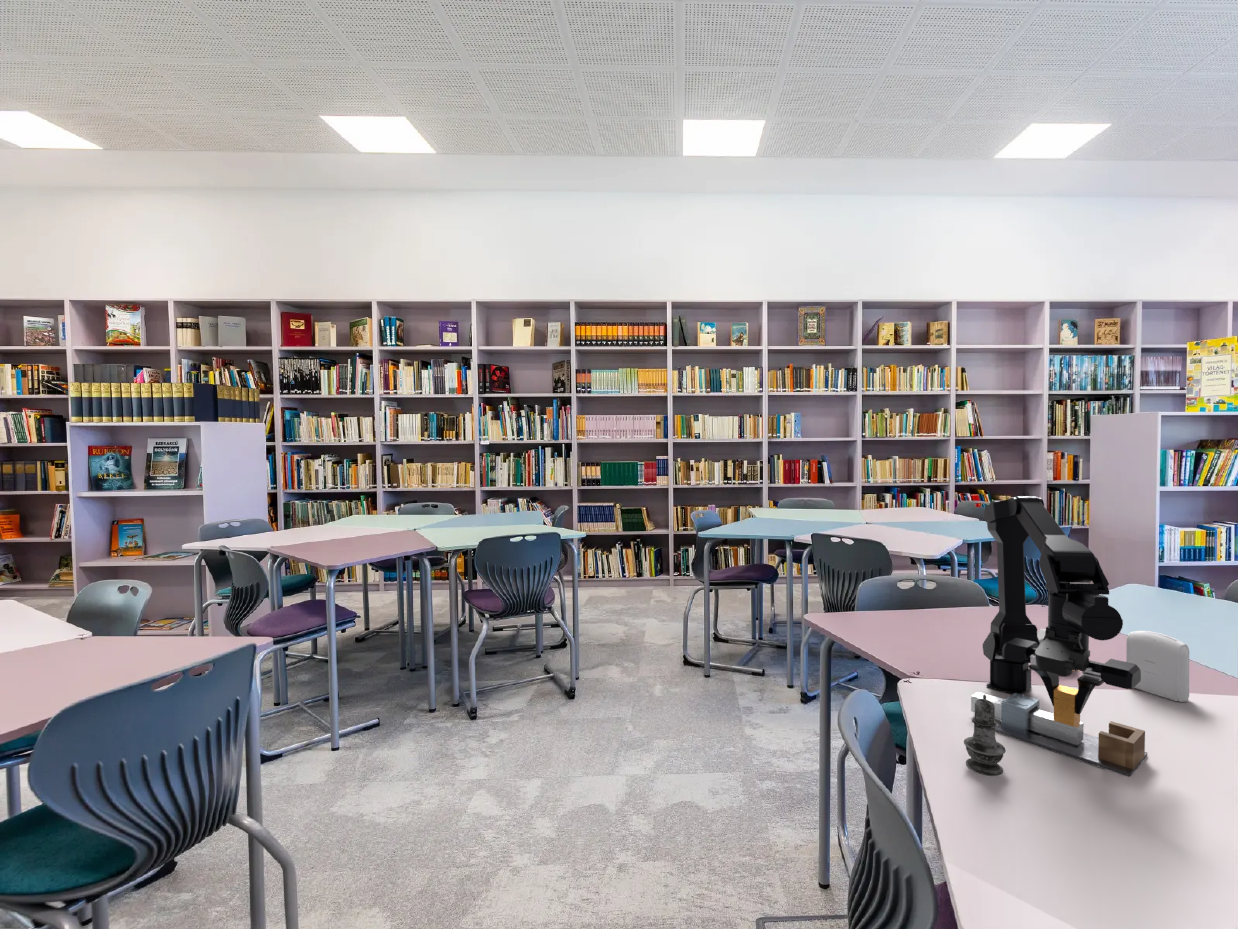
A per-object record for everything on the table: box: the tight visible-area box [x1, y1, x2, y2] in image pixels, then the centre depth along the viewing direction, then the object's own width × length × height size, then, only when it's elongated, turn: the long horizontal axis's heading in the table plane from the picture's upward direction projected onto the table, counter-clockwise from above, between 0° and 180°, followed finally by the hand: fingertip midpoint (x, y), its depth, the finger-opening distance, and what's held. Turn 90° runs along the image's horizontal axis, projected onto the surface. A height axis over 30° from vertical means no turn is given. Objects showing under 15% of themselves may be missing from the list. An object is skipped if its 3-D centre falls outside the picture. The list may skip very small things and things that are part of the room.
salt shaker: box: [963, 693, 1007, 777], centre depth 100 cm, size 6×6×12 cm
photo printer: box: [1125, 630, 1190, 703], centre depth 127 cm, size 10×4×12 cm, turn 20°
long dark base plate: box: [995, 693, 1148, 778], centre depth 107 cm, size 20×10×5 cm, turn 38°
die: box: [1037, 628, 1046, 643], centre depth 143 cm, size 8×9×10 cm
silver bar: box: [970, 684, 1085, 745], centre depth 112 cm, size 17×3×8 cm, turn 38°
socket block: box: [1098, 720, 1146, 769], centre depth 101 cm, size 4×7×4 cm
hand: (1067, 710), depth 107 cm, fingers closed on silver bar, 3 cm apart
